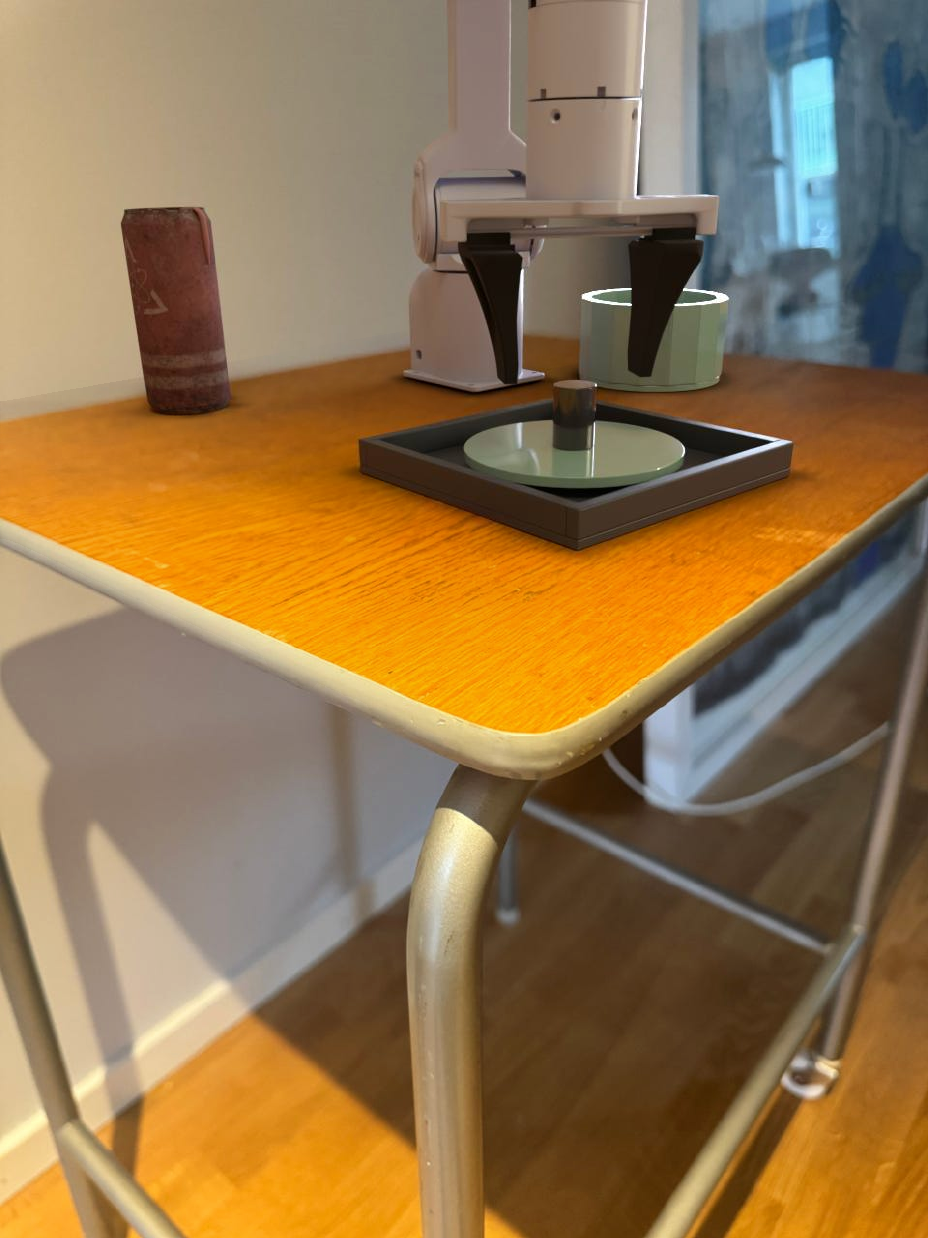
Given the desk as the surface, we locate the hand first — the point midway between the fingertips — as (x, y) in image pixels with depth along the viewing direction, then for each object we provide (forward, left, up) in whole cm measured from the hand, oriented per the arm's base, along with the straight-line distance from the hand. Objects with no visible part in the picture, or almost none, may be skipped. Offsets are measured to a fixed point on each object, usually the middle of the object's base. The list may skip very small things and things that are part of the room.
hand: (574, 377), depth 55 cm
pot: (-15, +25, -6) cm, 30 cm away
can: (-32, -8, -6) cm, 33 cm away
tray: (0, 0, -6) cm, 6 cm away
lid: (0, 0, -5) cm, 5 cm away
